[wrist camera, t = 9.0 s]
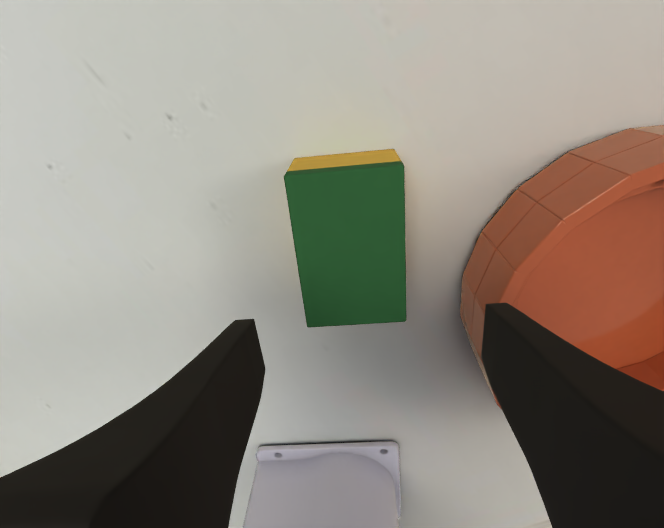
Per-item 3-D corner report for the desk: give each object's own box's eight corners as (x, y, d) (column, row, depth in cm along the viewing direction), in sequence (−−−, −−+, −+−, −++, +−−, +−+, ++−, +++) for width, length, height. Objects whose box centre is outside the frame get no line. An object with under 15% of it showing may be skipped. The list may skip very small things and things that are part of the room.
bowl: (452, 397, 24) (474, 464, 20) (467, 141, 17) (505, 163, 13) (718, 385, 22) (799, 454, 18) (848, 105, 16) (1021, 118, 12)
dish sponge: (312, 291, 20) (306, 328, 18) (294, 157, 17) (283, 175, 14) (397, 285, 20) (406, 322, 17) (394, 148, 17) (404, 164, 14)
